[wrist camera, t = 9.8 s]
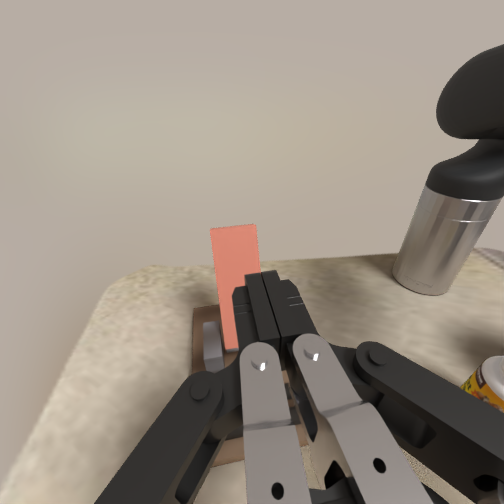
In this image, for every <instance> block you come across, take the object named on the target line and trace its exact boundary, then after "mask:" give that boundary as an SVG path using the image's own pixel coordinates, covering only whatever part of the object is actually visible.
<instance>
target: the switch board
mask: <svg viewBox="0 0 504 504" xmlns="http://www.w3.org/2000/svg"><path fill="white" fill-rule="evenodd" d="M237 354H238V351H235V352H229V353H227V350H225V342H224V334H223V327H222V319H221V311H220V305H213V306H206V307H200V308H194V321H193V360H192V374H194V373H196V372H199V371H209V372H212V373H214V374H215V373H217V372H218V371H220V370H222V369H224V368H226V367H227V366H229V365H230V364H231V363H232V362H233V361H234V360H235V358H236V356H237ZM282 376H283V381H284V386H285V391H286V396H287V401H288V406H289V411H290V416H291V419H292V421H293V422H294V425H295V428H296V431H297V435H298V440H299V445H300V447H301V446H305V445H308V441H307V438H306V436H305V433H304V430H303V427H302V424H301V422H300V419H299V416H298V413H297V411H296V408H295V405H294V402H293V400H292V397H291V394H290V391H289V378H288V375H287V372H286V370H284V371H282ZM241 460H245V455H244V437H243V425H241V426H240V427H238V428H237V429H235V430H234V431H232V432H231V433H229V434H228V435H227V437H226V439H225V441H224V443H223V445H222V447H221V449H220V451H219V453H218V455H217V457H216V459H215V461H214V463H213V465H212V467H215V466H219V465H224V464H228V463H232V462H236V461H241Z"/></svg>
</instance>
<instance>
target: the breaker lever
mask: <svg viewBox="0 0 504 504" xmlns="http://www.w3.org/2000/svg"><path fill="white" fill-rule="evenodd" d="M210 235H211V242H212V250H213V258H214V265H215V273H216V281H217V288H218V296H219V304H220V311H221V319H222V327H223V334H224V342H225V350H227V353H229V352H235V351H239V348H238V341H237V334H236V327H235V320H234V312H233V303H232V294H233V291H234V289H235V287H240V286H245V280H244V275H245V274H252V273H259V272H261V271H260V261H259V251H258V240H257V230H256V225H254V224H248V225H239V226H230V227H222V228H212V229H210Z"/></svg>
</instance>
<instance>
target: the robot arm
mask: <svg viewBox="0 0 504 504" xmlns="http://www.w3.org/2000/svg"><path fill="white" fill-rule="evenodd" d="M436 116H437V121H438V124H439V126H440V128H441V129H442V130H443V131H444V132H445V133H447V134H448V135H450V136H452V137H455V138H459V139H479V141H478V142H477V143H476V145H475V146H474V147H472V148H471V149H469V150H468V151H466V152H465V153H463V154H461V155H459V156H457V157H454V158H451V159H448V160H445V161H443V162H440V163H438V164H436V165H435V166H434V167H433V168H432V169H431V171H430V173H429V175H428V179H427V181H426V183H425V186H424V189H423V191H422V194H421V197H420V199H419V202H418V205H417V207H416V210H415V212H414V215H413V218H412V220H411V223H410V225H409V228H408V231H407V233H406V236H405V238H404V241H403V244H402V247H401V249H400V251H399V254H398V256H397V259H396V262H395V264H394V267H393V270H392V273H393V276H394V278H395V279H396V280H397V281H398V282H399V283H400V284H402V285H403V286H405V287H406V288H408V289H410V290H412V291H415V292H418V293H421V294H426V295H440V294H444V293H446V292H447V291H448V290H449V288H450V287H451V285H452V283H453V281H454V280H455V278H456V276H457V275H458V273H459V272H460V270H461V268H462V266H463V265H464V263H465V261H466V260H467V258H468V256H469V254H470V253H471V251H472V249H473V248H474V246H475V244H476V242H477V241H478V239H479V237H480V235H481V234H482V232H483V230H484V229H485V227H486V225H487V223H488V222H489V220H490V218H491V216H492V215H493V213H494V211H495V210H496V208H497V206H498V204H499V203H500V201H501V199H502V197H503V196H504V44H503V45H500V46H498V47H495V48H492V49H489V50H487V51H484V52H482V53H480V54H478V55H476V56H475V57H473V58H472V59H470V60H469V61H468V62H466V63H465V64H464V65H463V66H462V67H461V68H460V69H459V70H458V71H457V72H456V73H455V74H454V75H453V76H452V78H451V79H450V80H449V81H448V83H447V84H446V86H445V88H444V89H443V91H442V93H441V95H440V98H439V101H438V103H437V109H436ZM244 280H245V286H240V287H235V289H234V291H233V294H232V303H233V312H234V320H235V327H236V334H237V341H238V348H239V351H238V354H237V356H236V358H235V360H234V361H233V362H232V363H231V364H230V365H229V366H227V367H226V368H224V369H222V370H220V371H218V372H217V373H215V374H214V373H212V372H209V371H199V372H196V373H194V374H192V375H191V376H189V377H188V378H187V379H186V380H185V381H184V382H183V384H182V385H181V387H180V388H179V389H178V391H177V392H176V393H175V395H174V396H173V397H172V399H171V400H170V401H169V403H168V404H167V405H166V407H165V408H164V410H163V411H162V412H161V414H160V415H159V416H158V418H157V419H156V420H155V422H154V423H153V424H152V426H151V427H150V428H149V430H148V431H147V433H146V434H145V435H144V437H143V438H142V439H141V441H140V442H139V443H138V445H137V446H136V447H135V449H134V450H133V451H132V453H131V454H130V456H129V457H128V458H127V460H126V461H125V462H124V464H123V465H122V466H121V468H120V469H119V470H118V472H117V473H116V474H115V476H114V477H113V479H112V480H111V481H110V483H109V484H108V485H107V487H106V488H105V489H104V491H103V492H102V493H101V495H100V496H99V497H98V499H97V500H96V502H95V503H94V504H193V502H194V500H195V498H196V496H197V494H198V492H199V490H200V488H201V486H202V484H203V482H204V480H205V478H206V476H207V474H208V472H209V470H210V468H211V467H212V465H213V463H214V461H215V459H216V457H217V455H218V453H219V451H220V449H221V447H222V445H223V443H224V441H225V439H226V437H227V435H228V434H229V433H231V432H232V431H234V430H235V429H237V428H238V427H240V426H241V425H243V437H244V455H245V473H246V490H247V504H449V503H448V502H447V501H446V500H444V499H443V498H442V497H441V496H440V495H438V494H437V493H436V492H435V491H433V490H432V489H431V488H429V487H428V486H426V485H425V484H423V483H422V482H420V480H419V479H418V477H417V475H416V474H415V472H414V470H413V469H412V467H411V465H410V464H409V462H408V460H407V459H406V457H405V455H404V454H403V452H402V451H401V449H400V447H401V448H403V449H404V450H405V451H407V452H408V453H409V454H411V455H412V456H413V457H415V458H416V459H417V460H419V461H420V462H421V463H423V464H424V465H425V466H426V467H428V468H429V469H430V470H432V471H433V472H434V473H436V474H437V475H438V476H440V477H441V478H442V479H444V480H445V481H446V482H448V483H449V484H450V485H452V486H453V487H454V488H456V489H457V490H458V491H459V492H461V493H462V494H463V495H465V496H466V497H467V498H469V499H470V500H471V501H473V502H474V503H475V504H504V413H503V412H502V411H500V410H498V409H496V408H494V407H493V406H491V405H489V404H487V403H486V402H484V401H482V400H480V399H478V398H477V397H475V396H473V395H471V394H470V393H468V392H466V391H464V390H462V389H461V388H459V387H457V386H455V385H454V384H452V383H450V382H448V381H446V380H445V379H443V378H441V377H439V376H438V375H436V374H434V373H432V372H431V371H429V370H427V369H425V368H423V367H422V366H420V365H418V364H416V363H415V362H413V361H411V360H409V359H407V358H406V357H404V356H402V355H400V354H399V353H397V352H395V351H393V350H391V349H390V348H388V347H386V346H384V345H382V344H380V343H377V342H372V341H368V342H363V343H361V344H360V345H359V346H358V347H357V349H354V348H347V347H339V346H335V345H332V344H330V343H328V342H327V341H326V340H325V339H323V338H322V337H320V335H319V334H318V332H317V331H316V328H315V326H314V324H313V322H312V320H311V318H310V315H309V313H308V311H307V309H306V307H305V305H304V303H303V300H302V298H301V297H300V294H299V291H298V289H297V287H296V286H295V285H294V284H293V283H292V282H291V281H290V280H289V279H288V280H281V281H280V278H279V276H278V273H277V271H276V270H273V271H266V272H259V273H252V274H245V275H244ZM284 370H286V372H287V375H288V378H289V391H290V394H291V397H292V400H293V402H294V405H295V408H296V411H297V413H298V416H299V419H300V422H301V424H302V427H303V430H304V433H305V436H306V438H307V441H308V445H309V449H310V455H311V460H312V464H313V468H314V471H315V474H316V476H317V479H318V482H319V485H320V488H321V490H319V489H310V488H308V483H307V478H306V474H305V469H304V464H303V459H302V454H301V450H300V445H299V440H298V435H297V431H296V428H295V425H294V422H293V421H292V419H291V416H290V411H289V406H288V401H287V396H286V391H285V386H284V381H283V376H282V371H284ZM398 445H399V446H400V447H399V446H398Z"/></svg>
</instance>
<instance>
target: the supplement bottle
mask: <svg viewBox="0 0 504 504" xmlns="http://www.w3.org/2000/svg"><path fill="white" fill-rule="evenodd" d="M460 388H461V389H462V390H464V391H466V392H468V393H470V394H471V395H473V396H475V397H477V398H478V399H480V400H482V401H484V402H486V403H487V404H489V405H491V406H493V407H494V408H496V409H498V410H500V411H502V412H503V413H504V356H493V357H490V358H488V359H487V360H485V361H484V362H483V363H482V364H481V365H480V367H479V368H478V369H477V370H476V371H475V372H474V373H473V374H472V375H471V376H470V377H469V379H468V380H467V381H466V382H465V383H464V384H463V385H462V386H461V387H460Z"/></svg>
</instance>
